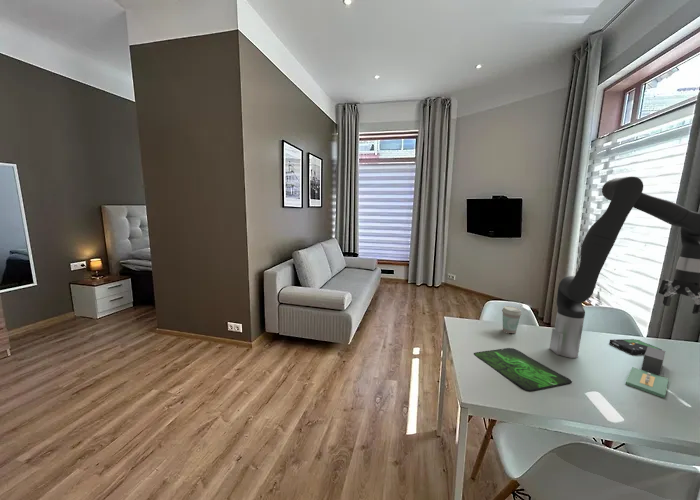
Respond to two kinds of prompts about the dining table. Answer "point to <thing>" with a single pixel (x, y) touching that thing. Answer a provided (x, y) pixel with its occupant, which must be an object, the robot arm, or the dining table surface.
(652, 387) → the green flat rectangular block
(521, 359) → the mouse mat
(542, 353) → the dining table surface
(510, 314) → the coffee cup
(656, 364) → the block
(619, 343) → the disk drive
